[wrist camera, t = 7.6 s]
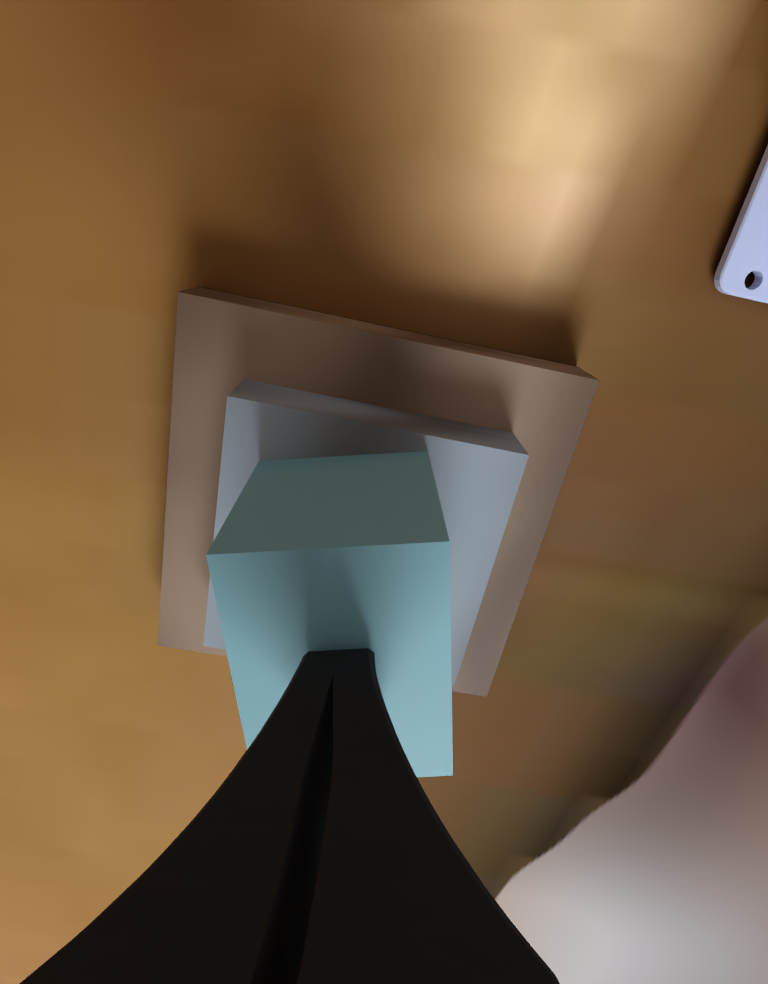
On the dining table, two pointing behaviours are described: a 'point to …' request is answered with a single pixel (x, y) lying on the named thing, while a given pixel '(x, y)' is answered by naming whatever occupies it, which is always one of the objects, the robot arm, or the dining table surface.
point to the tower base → (376, 377)
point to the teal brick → (341, 587)
